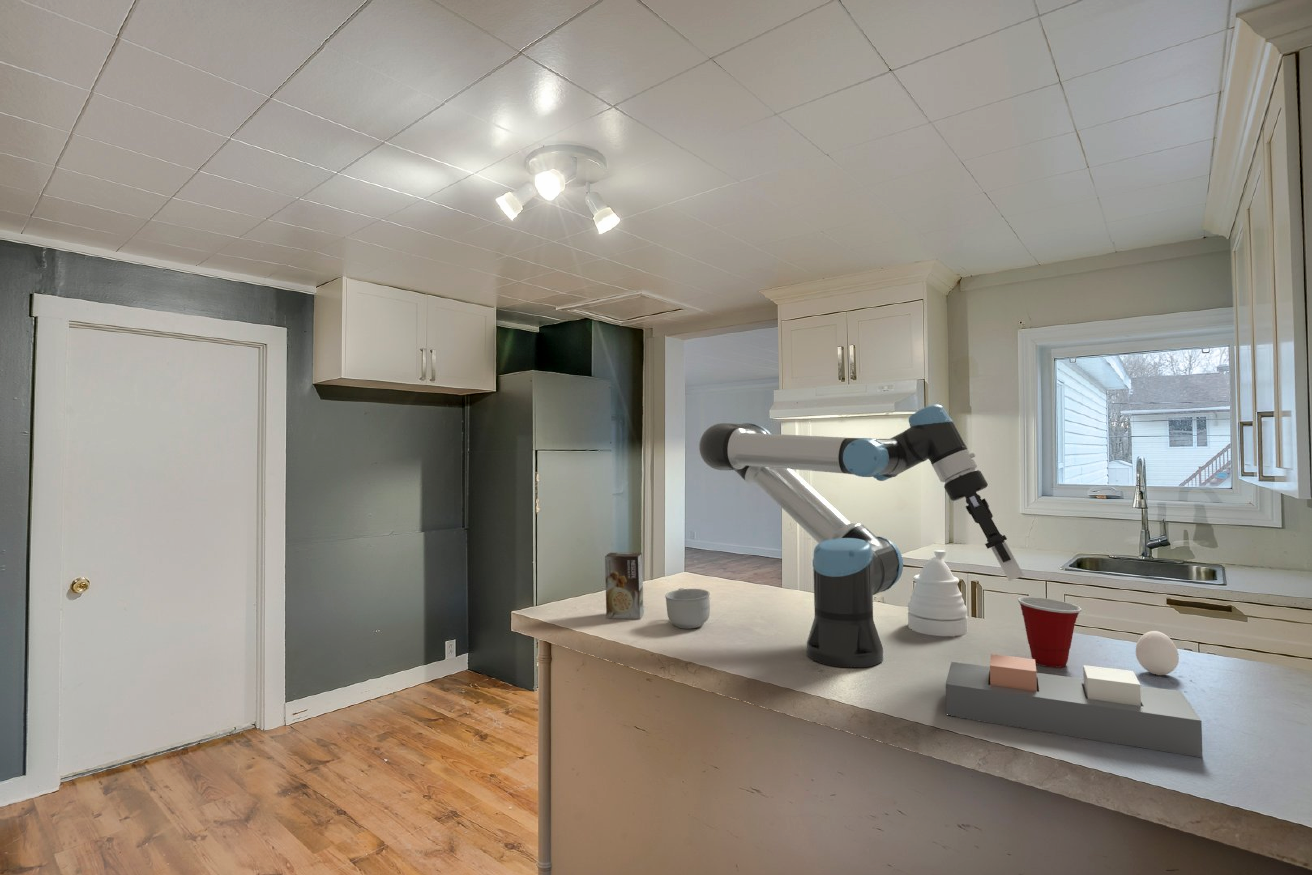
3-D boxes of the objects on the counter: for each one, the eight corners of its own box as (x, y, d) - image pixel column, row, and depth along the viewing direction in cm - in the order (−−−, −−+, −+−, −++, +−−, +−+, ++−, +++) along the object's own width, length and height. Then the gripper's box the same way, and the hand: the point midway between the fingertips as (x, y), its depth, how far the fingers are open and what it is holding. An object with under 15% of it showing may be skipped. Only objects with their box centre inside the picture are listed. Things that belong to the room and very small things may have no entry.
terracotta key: (990, 690, 104) (989, 665, 104) (991, 677, 109) (990, 653, 109) (1037, 697, 101) (1036, 671, 101) (1035, 683, 106) (1034, 659, 106)
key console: (946, 715, 104) (945, 683, 104) (952, 690, 115) (951, 661, 115) (1202, 757, 89) (1201, 720, 89) (1182, 724, 100) (1181, 691, 100)
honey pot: (926, 618, 163) (924, 546, 163) (978, 629, 153) (976, 551, 153) (897, 627, 155) (895, 551, 155) (950, 639, 145) (948, 558, 145)
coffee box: (644, 613, 172) (643, 552, 173) (640, 619, 166) (639, 556, 166) (610, 612, 174) (609, 551, 174) (605, 618, 167) (604, 555, 168)
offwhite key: (1088, 704, 98) (1087, 677, 98) (1083, 690, 103) (1083, 664, 103) (1141, 712, 95) (1140, 684, 95) (1133, 697, 100) (1132, 670, 100)
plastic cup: (1093, 673, 122) (1092, 609, 122) (1030, 670, 124) (1028, 607, 124) (1069, 655, 132) (1067, 596, 133) (1011, 653, 135) (1009, 594, 135)
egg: (1127, 669, 124) (1126, 627, 124) (1158, 667, 125) (1157, 626, 125) (1156, 681, 118) (1154, 636, 118) (1188, 679, 118) (1187, 635, 118)
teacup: (711, 631, 154) (711, 597, 154) (665, 632, 154) (665, 598, 155) (707, 616, 168) (707, 585, 168) (665, 616, 168) (665, 585, 168)
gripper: (977, 462, 120) (1039, 572, 114) (980, 473, 142) (1032, 565, 135) (937, 480, 123) (996, 588, 116) (946, 487, 145) (995, 578, 138)
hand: (1015, 575), depth 126 cm, fingers open, 13 cm apart
